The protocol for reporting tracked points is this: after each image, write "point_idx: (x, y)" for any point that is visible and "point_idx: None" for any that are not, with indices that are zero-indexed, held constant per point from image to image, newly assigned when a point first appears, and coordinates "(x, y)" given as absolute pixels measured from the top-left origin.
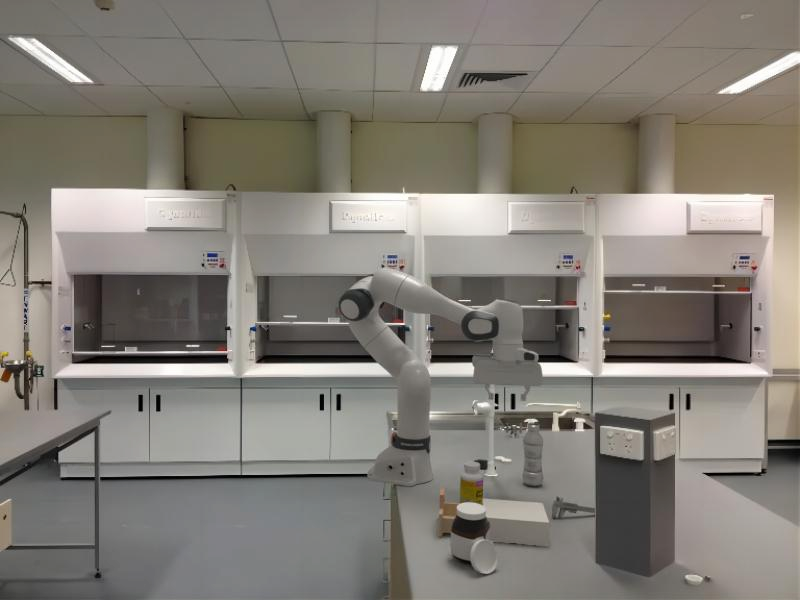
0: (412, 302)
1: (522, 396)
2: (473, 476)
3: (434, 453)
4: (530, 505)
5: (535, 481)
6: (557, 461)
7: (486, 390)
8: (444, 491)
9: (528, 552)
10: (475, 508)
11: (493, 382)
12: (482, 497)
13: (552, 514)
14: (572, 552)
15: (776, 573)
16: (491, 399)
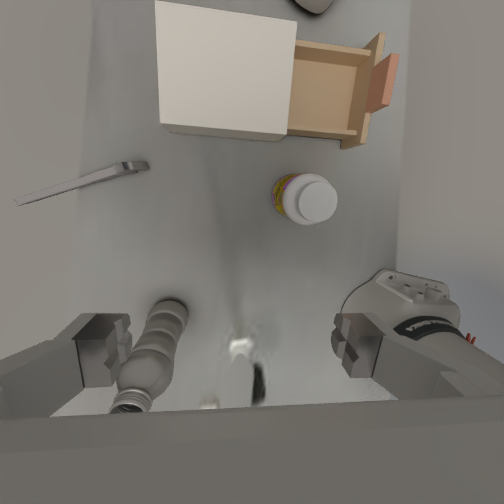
0: None
1: (98, 331)
2: (310, 177)
3: None
4: (188, 104)
5: (164, 302)
6: None
7: (441, 352)
8: (379, 98)
9: (208, 5)
10: None
11: (483, 416)
12: (276, 188)
13: (146, 167)
14: (125, 11)
15: None
16: (349, 314)
